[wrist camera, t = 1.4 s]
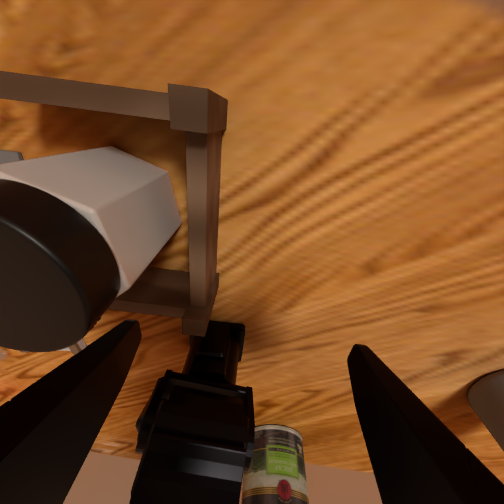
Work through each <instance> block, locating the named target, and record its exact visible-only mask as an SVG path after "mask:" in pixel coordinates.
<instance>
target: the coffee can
mask: <svg viewBox="0 0 504 504" xmlns="http://www.w3.org/2000/svg"><path fill="white" fill-rule="evenodd" d="M241 504H309V500H308V490H307V482H306V474H305V464H304V455H303V446H302V436H301V435H300V433H299V432H297V431H296V430H294V429H292V428H290V427H286V426H282V425H261V426H257V427H255V439H254V448H253V454H252V459H251V463H250V466H249V469H248V471H246V472H243V487H242V502H241Z"/></svg>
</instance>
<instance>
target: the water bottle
mask: <svg viewBox="0 0 504 504" xmlns="http://www.w3.org/2000/svg"><path fill="white" fill-rule="evenodd" d="M468 401H469V403H470V406H471V407H472V408H473V410H474V411H475V413H476V414H477V415H478V417H479V418H480V419H481V421H482V422H483V424H484V425H485V426H486V428H487V429H488V430H489V432H490V433H491V435H492V436H493V437H494V439H495V440H496V441H497V443H498V444H499V446H500V447H501V448H502V450H503V451H504V370H502V371H498V372H495V373H492V374H489V375H487V376H485V377H483V378H482V379H480V380H478V381H477V382H476V383H475V384H474V385H473V386H472V387H471V388H470V390H469V392H468Z"/></svg>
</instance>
